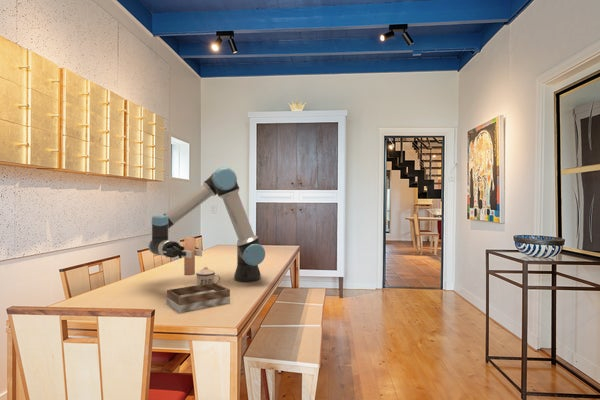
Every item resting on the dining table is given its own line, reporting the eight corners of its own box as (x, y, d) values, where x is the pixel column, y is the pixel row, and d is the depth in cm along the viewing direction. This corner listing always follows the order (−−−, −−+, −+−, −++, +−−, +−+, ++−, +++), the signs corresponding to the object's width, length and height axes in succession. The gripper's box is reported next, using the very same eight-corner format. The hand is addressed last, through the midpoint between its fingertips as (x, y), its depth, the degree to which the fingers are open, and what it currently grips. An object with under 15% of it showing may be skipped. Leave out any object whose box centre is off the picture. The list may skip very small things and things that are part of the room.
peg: (192, 272, 156) (192, 237, 156) (196, 274, 153) (196, 238, 153) (182, 274, 153) (182, 237, 153) (186, 275, 150) (186, 238, 150)
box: (214, 295, 165) (214, 282, 165) (229, 303, 152) (229, 289, 152) (166, 303, 151) (166, 289, 151) (179, 313, 138) (179, 298, 139)
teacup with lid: (197, 293, 168) (197, 269, 168) (194, 289, 176) (194, 266, 176) (222, 290, 173) (222, 267, 173) (218, 286, 181) (218, 264, 181)
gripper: (186, 254, 172) (213, 260, 156) (151, 259, 159) (177, 265, 143) (186, 239, 172) (213, 243, 156) (151, 242, 159) (177, 247, 143)
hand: (196, 254), depth 149 cm, fingers closed on peg, 4 cm apart
